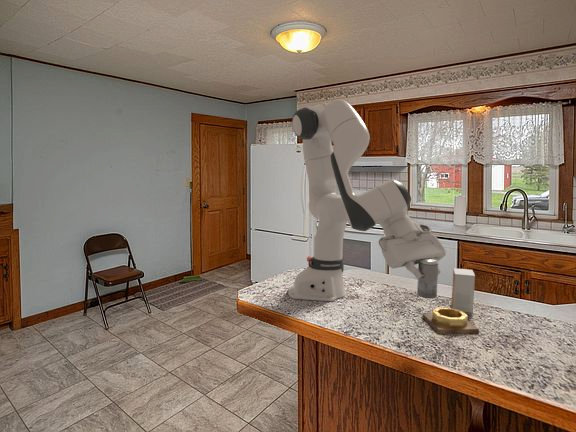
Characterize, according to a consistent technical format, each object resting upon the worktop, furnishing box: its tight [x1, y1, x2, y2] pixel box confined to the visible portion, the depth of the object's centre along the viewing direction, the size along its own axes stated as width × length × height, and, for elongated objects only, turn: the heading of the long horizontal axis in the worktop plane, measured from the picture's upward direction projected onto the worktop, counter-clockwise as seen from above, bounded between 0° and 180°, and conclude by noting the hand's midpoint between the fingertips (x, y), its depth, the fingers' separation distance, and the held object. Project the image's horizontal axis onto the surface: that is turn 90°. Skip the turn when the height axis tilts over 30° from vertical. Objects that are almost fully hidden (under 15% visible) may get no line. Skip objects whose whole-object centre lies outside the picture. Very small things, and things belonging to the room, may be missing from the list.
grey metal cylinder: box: [416, 259, 439, 299], centre depth 98 cm, size 5×5×10 cm
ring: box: [431, 307, 468, 327], centre depth 111 cm, size 9×9×2 cm
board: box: [422, 313, 480, 334], centre depth 112 cm, size 12×12×1 cm
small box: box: [451, 267, 476, 314], centre depth 125 cm, size 8×6×13 cm
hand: (429, 276), depth 98 cm, fingers closed on grey metal cylinder, 5 cm apart
